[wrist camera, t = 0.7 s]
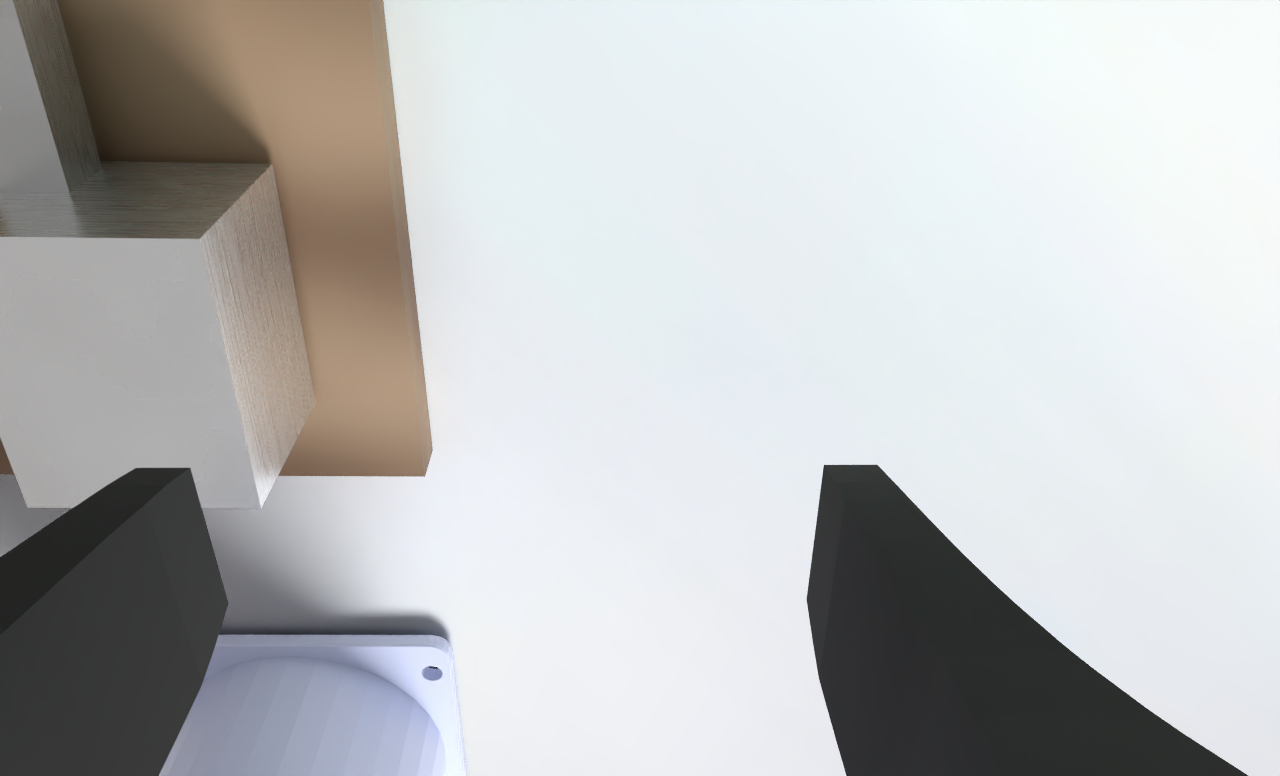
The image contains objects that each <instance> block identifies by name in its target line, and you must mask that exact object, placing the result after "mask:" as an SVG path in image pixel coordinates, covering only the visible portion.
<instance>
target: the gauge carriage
mask: <svg viewBox="0 0 1280 776" xmlns="http://www.w3.org/2000/svg"><path fill="white" fill-rule="evenodd" d="M314 404H315V397H314V391H313V386H312V380H311V374H310V369H309V363H308V358H307V352H306V347H305V341H304V335H303V330H302V324H301V319H300V313H299V308H298V302H297V297H296V291H295V285H294V280H293V274H292V269H291V263H290V258H289V252H288V247H287V241H286V235H285V230H284V224H283V219H282V213H281V208H280V202H279V197H278V191H277V185H276V180H275V174H274V169H273V164H265V163H188V162H110V161H101V160H100V156H99V153H98V149H97V145H96V142H95V138H94V134H93V131H92V127H91V123H90V120H89V116H88V112H87V109H86V105H85V101H84V98H83V94H82V90H81V87H80V83H79V79H78V76H77V72H76V68H75V65H74V61H73V57H72V54H71V50H70V46H69V43H68V39H67V35H66V32H65V28H64V24H63V21H62V17H61V13H60V10H59V6H58V2H57V0H0V438H1V441H2V443H3V446H4V448H5V451H6V454H7V456H8V459H9V461H10V464H11V467H12V469H13V472H14V474H15V477H16V480H17V482H18V485H19V487H20V490H21V493H22V495H23V498H24V500H25V503H26V506H27V508H74V507H75V506H77V505H78V504H80V503H81V502H83V501H84V500H86V499H87V498H89V497H90V496H92V495H93V494H95V493H96V492H98V491H99V490H101V489H102V488H104V487H105V486H107V485H108V484H110V483H112V482H113V481H115V480H116V479H118V478H120V477H121V476H123V475H125V474H126V473H128V472H130V471H132V470H133V469H135V468H191V472H192V476H193V479H194V483H195V486H196V490H197V494H198V497H199V501H200V504H201V508H214V509H261V508H262V506H263V504H264V502H265V500H266V498H267V496H268V494H269V493H270V491H271V489H272V487H273V485H274V483H275V481H276V479H277V477H278V475H279V473H280V471H281V469H282V467H283V465H284V463H285V461H286V459H287V457H288V455H289V453H290V451H291V449H292V447H293V446H294V444H295V442H296V440H297V438H298V436H299V434H300V432H301V430H302V428H303V426H304V424H305V422H306V420H307V418H308V416H309V414H310V412H311V410H312V408H313V406H314Z"/></svg>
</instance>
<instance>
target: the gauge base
mask: <svg viewBox="0 0 1280 776" xmlns="http://www.w3.org/2000/svg"><path fill="white" fill-rule="evenodd" d="M57 2H58V6H59V10H60V13H61V17H62V21H63V24H64V28H65V32H66V35H67V39H68V43H69V46H70V50H71V54H72V57H73V61H74V65H75V68H76V72H77V76H78V79H79V83H80V87H81V90H82V94H83V98H84V101H85V105H86V109H87V112H88V116H89V120H90V123H91V127H92V131H93V134H94V138H95V142H96V145H97V149H98V153H99V156H100V160H101V161H110V162H188V163H265V164H273V169H274V174H275V180H276V185H277V191H278V197H279V202H280V208H281V213H282V219H283V224H284V230H285V235H286V241H287V247H288V252H289V258H290V263H291V269H292V274H293V280H294V285H295V291H296V297H297V302H298V308H299V313H300V319H301V324H302V330H303V335H304V341H305V347H306V352H307V358H308V363H309V369H310V374H311V380H312V386H313V391H314V397H315V404H314V406H313V408H312V410H311V412H310V414H309V416H308V418H307V420H306V422H305V424H304V426H303V428H302V430H301V432H300V434H299V436H298V438H297V440H296V442H295V444H294V446H293V447H292V449H291V451H290V453H289V455H288V457H287V459H286V461H285V463H284V465H283V467H282V469H281V471H280V473H279V475H278V476H425V474H426V471H427V467H428V464H429V460H430V457H431V454H432V441H431V432H430V423H429V414H428V405H427V396H426V387H425V378H424V369H423V360H422V351H421V341H420V332H419V323H418V314H417V305H416V296H415V287H414V278H413V269H412V260H411V251H410V242H409V233H408V224H407V215H406V206H405V196H404V187H403V178H402V169H401V160H400V151H399V142H398V133H397V124H396V115H395V106H394V97H393V88H392V79H391V70H390V61H389V52H388V42H387V33H386V24H385V15H384V6H383V0H57ZM0 474H14V472H13V469H12V467H11V464H10V461H9V459H8V456H7V454H6V451H5V448H4V446H3V443H2V441H1V438H0Z"/></svg>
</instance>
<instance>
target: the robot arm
mask: <svg viewBox="0 0 1280 776" xmlns="http://www.w3.org/2000/svg"><path fill="white" fill-rule="evenodd" d="M807 604H808V611H809V618H810V625H811V631H812V638H813V645H814V651H815V657H816V663H817V669H818V675H819V680H820V683H821V687H822V691H823V694H824V698H825V702H826V705H827V709H828V712H829V716H830V719H831V723H832V726H833V730H834V734H835V737H836V741H837V744H838V748H839V751H840V755H841V758H842V761H843V765H844V768H845V772H846V775H847V776H1248V775H1246V774H1245V773H1243V772H1242V771H1240V770H1239V769H1237V768H1236V767H1234V766H1232V765H1231V764H1229V763H1228V762H1226V761H1225V760H1223V759H1222V758H1220V757H1218V756H1217V755H1215V754H1214V753H1212V752H1211V751H1209V750H1208V749H1206V748H1205V747H1203V746H1201V745H1200V744H1198V743H1197V742H1195V741H1194V740H1192V739H1191V738H1189V737H1187V736H1186V735H1184V734H1183V733H1181V732H1180V731H1178V730H1177V729H1176V728H1174V727H1173V726H1171V725H1170V724H1168V723H1167V722H1165V721H1164V720H1162V719H1161V718H1160V717H1158V716H1157V715H1155V714H1154V713H1152V712H1151V711H1149V710H1148V709H1147V708H1145V707H1144V706H1143V705H1141V704H1140V703H1139V702H1137V701H1136V700H1134V699H1133V698H1132V697H1130V696H1129V695H1128V694H1126V693H1125V692H1124V691H1122V690H1121V689H1120V688H1118V687H1117V686H1116V685H1114V684H1113V683H1112V682H1110V681H1109V680H1108V679H1106V678H1105V677H1104V676H1102V675H1101V674H1100V673H1098V672H1097V671H1096V670H1094V669H1093V668H1092V667H1090V666H1089V665H1088V664H1086V663H1085V662H1084V661H1083V660H1081V659H1080V658H1079V657H1078V656H1076V655H1075V654H1074V653H1073V652H1071V651H1070V650H1069V649H1068V648H1066V647H1065V646H1064V645H1063V644H1062V643H1060V642H1059V641H1058V640H1057V639H1056V638H1055V637H1053V636H1052V635H1051V634H1050V633H1049V632H1048V631H1046V630H1045V629H1044V628H1043V627H1042V626H1041V625H1040V624H1038V623H1037V622H1036V621H1035V620H1034V619H1033V618H1031V617H1030V616H1029V615H1028V614H1027V613H1026V612H1024V611H1023V610H1022V609H1021V608H1020V607H1019V606H1018V605H1016V604H1015V603H1014V602H1013V601H1012V600H1011V599H1010V598H1009V597H1008V596H1007V595H1006V594H1004V593H1003V592H1002V591H1001V590H1000V589H999V588H998V587H997V586H996V585H995V584H994V583H992V582H991V581H990V580H989V579H988V578H987V577H986V576H985V575H984V574H983V573H982V572H981V571H980V570H979V569H978V568H977V567H976V566H975V565H974V564H973V563H972V562H971V561H970V560H969V559H968V558H967V557H966V556H965V555H963V554H962V553H961V552H960V550H959V549H958V548H957V547H956V546H955V545H954V544H953V543H952V542H951V541H950V540H949V539H948V538H947V537H946V536H945V535H944V534H943V533H942V532H941V531H940V530H939V529H938V528H937V527H936V526H935V525H934V524H933V523H932V522H931V521H930V520H929V519H928V518H927V517H926V516H925V515H924V513H923V512H922V511H921V510H920V509H919V508H918V507H917V506H916V505H915V504H914V503H913V502H912V501H911V500H910V499H909V498H908V497H907V496H906V495H905V493H904V492H903V491H902V490H901V489H900V488H899V487H898V486H897V485H896V484H895V483H894V482H893V481H892V480H891V479H890V478H889V477H888V476H887V475H886V474H885V473H884V471H883V470H882V469H881V468H880V467H879V466H878V465H824V469H823V477H822V485H821V492H820V500H819V508H818V516H817V524H816V531H815V539H814V547H813V555H812V563H811V570H810V578H809V586H808V594H807ZM227 605H228V601H227V597H226V594H225V590H224V587H223V583H222V579H221V576H220V572H219V569H218V565H217V562H216V558H215V554H214V551H213V547H212V544H211V540H210V537H209V533H208V529H207V526H206V522H205V519H204V515H203V511H202V508H201V504H200V501H199V497H198V494H197V490H196V486H195V483H194V479H193V476H192V472H191V468H135V469H133V470H132V471H130V472H128V473H126V474H125V475H123V476H121V477H120V478H118V479H116V480H115V481H113V482H112V483H110V484H108V485H107V486H105V487H104V488H102V489H101V490H99V491H98V492H96V493H95V494H93V495H92V496H90V497H89V498H87V499H86V500H84V501H83V502H81V503H80V504H78V505H77V506H75V507H74V508H72V509H71V510H69V511H68V512H66V513H65V514H63V515H62V516H60V517H59V518H58V519H56V520H55V521H53V522H52V523H50V524H49V525H47V526H46V527H44V528H43V529H42V530H40V531H39V532H37V533H36V534H34V535H33V536H31V537H30V538H28V539H27V540H25V541H24V542H22V543H21V544H19V545H18V546H16V547H15V548H13V549H12V550H10V551H9V552H8V553H6V554H5V555H3V556H2V557H0V776H466V768H465V759H464V750H463V741H462V732H461V723H460V714H459V705H458V696H457V687H456V678H455V669H454V661H453V652H452V647H451V645H450V643H449V642H448V641H447V640H446V639H444V638H442V637H439V636H435V635H219V632H220V629H221V625H222V622H223V619H224V615H225V612H226V609H227ZM428 666H434V667H437V668H438V669H433V668H429V667H428Z"/></svg>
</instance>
